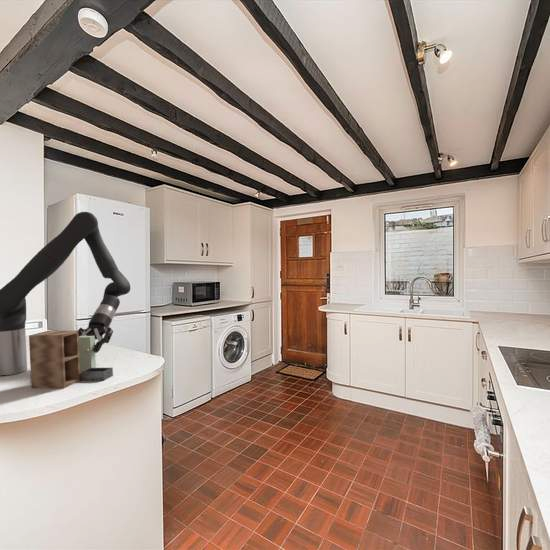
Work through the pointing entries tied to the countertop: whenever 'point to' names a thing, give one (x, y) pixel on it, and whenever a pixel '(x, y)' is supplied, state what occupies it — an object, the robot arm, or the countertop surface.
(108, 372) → the dark grey rectangular frame
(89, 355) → the sage green block
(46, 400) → the countertop surface
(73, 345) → the cabinet
